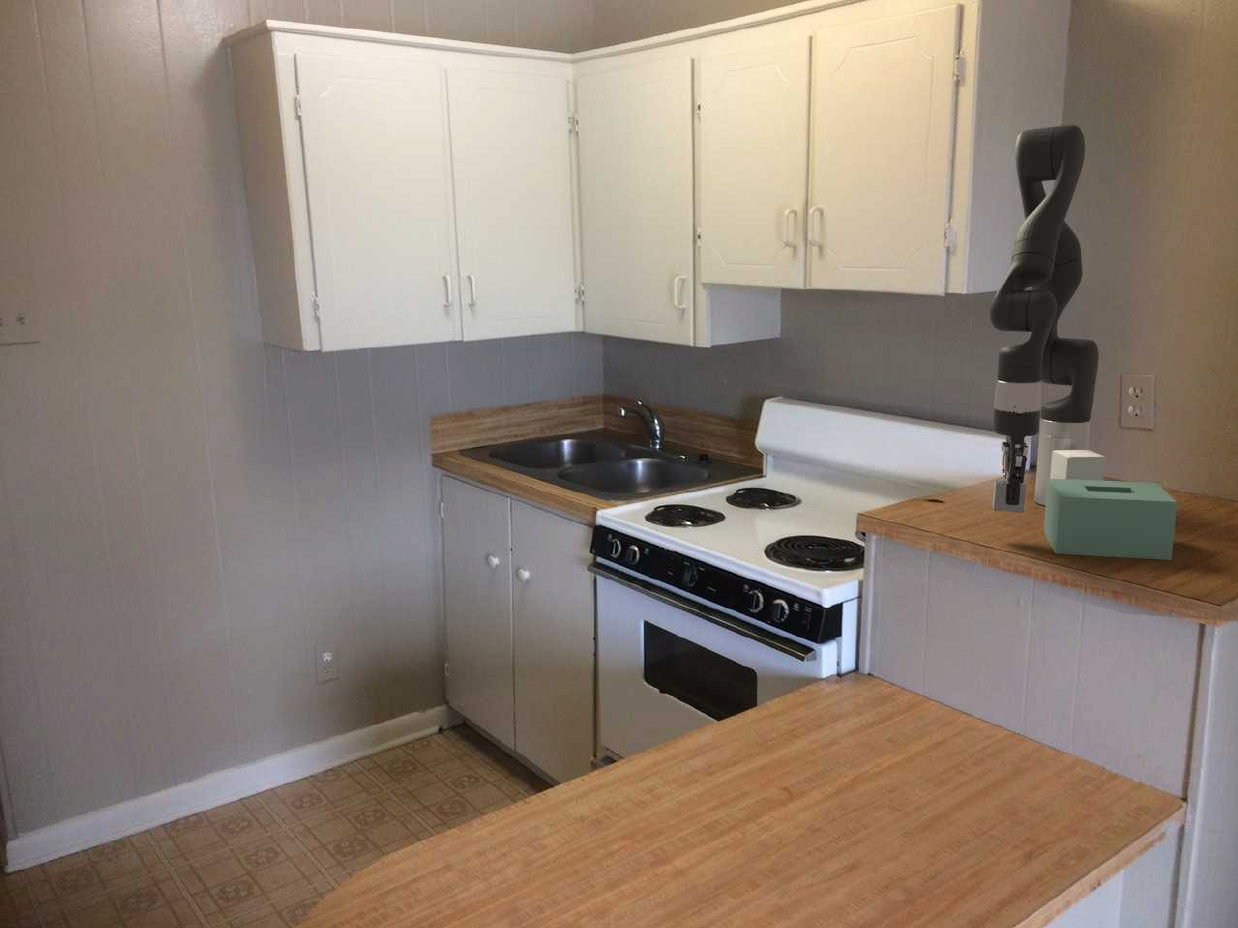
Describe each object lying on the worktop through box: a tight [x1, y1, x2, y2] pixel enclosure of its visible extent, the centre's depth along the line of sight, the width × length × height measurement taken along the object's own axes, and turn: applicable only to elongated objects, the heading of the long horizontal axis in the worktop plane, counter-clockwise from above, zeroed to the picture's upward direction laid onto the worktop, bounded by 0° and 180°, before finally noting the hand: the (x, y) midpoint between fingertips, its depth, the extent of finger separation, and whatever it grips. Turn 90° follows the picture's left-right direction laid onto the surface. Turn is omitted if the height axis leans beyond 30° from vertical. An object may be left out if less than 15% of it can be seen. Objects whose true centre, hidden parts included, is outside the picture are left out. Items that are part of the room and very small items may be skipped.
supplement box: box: [1050, 449, 1106, 481], centre depth 197 cm, size 7×7×13 cm
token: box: [991, 479, 1027, 514], centre depth 182 cm, size 2×5×5 cm, turn 76°
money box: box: [1043, 479, 1178, 561], centre depth 179 cm, size 14×18×10 cm
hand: (1011, 502), depth 183 cm, fingers closed on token, 2 cm apart
